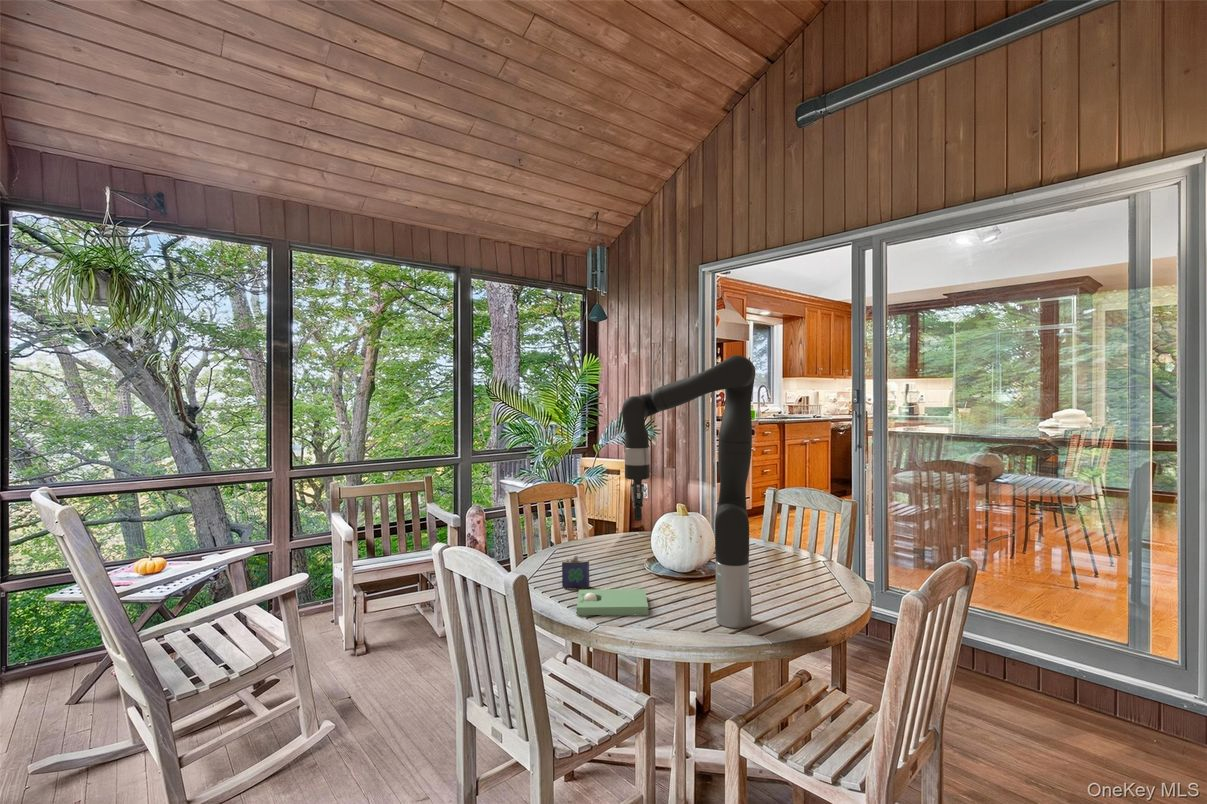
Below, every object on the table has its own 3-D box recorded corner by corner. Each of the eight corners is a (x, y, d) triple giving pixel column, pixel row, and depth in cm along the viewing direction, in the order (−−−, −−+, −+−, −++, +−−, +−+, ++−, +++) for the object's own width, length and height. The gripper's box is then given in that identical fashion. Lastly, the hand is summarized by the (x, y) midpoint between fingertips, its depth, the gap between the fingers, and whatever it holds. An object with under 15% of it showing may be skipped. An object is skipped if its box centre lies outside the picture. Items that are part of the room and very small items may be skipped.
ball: (582, 600, 175) (593, 605, 174) (581, 604, 171) (593, 610, 170) (587, 588, 175) (599, 594, 174) (586, 592, 171) (598, 598, 170)
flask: (589, 585, 191) (588, 554, 191) (589, 588, 189) (589, 556, 188) (562, 586, 191) (561, 555, 190) (562, 589, 188) (561, 557, 188)
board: (644, 596, 180) (644, 588, 180) (648, 615, 165) (648, 606, 165) (579, 597, 180) (578, 589, 180) (576, 615, 165) (576, 607, 165)
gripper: (651, 465, 162) (652, 525, 163) (647, 459, 176) (648, 515, 176) (625, 465, 162) (626, 525, 163) (623, 460, 176) (624, 515, 176)
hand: (637, 520), depth 169 cm, fingers closed
